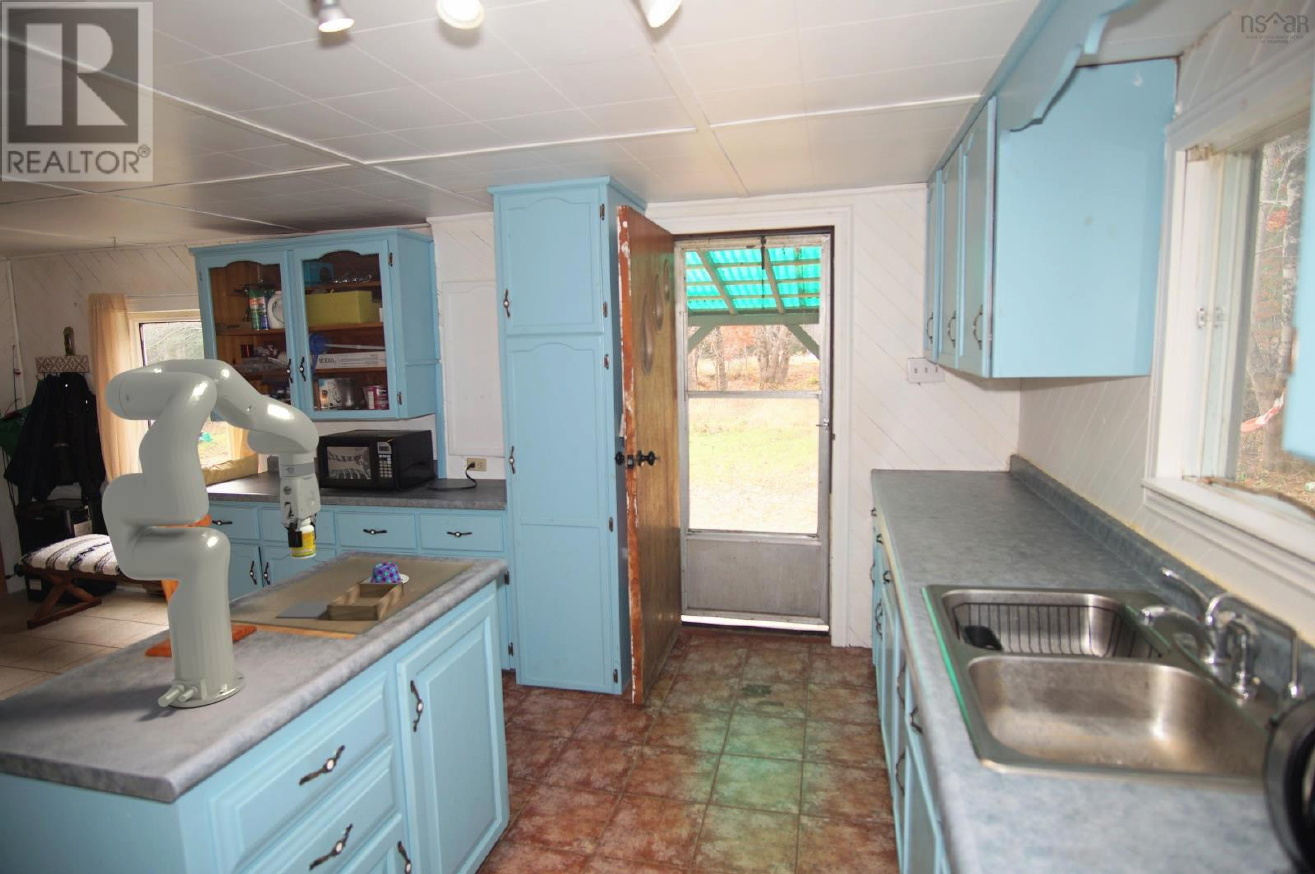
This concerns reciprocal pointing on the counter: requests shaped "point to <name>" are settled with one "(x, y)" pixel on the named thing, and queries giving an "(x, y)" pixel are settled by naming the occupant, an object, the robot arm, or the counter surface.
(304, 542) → the supplement bottle
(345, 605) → the walnut box
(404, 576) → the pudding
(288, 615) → the rubber mat
